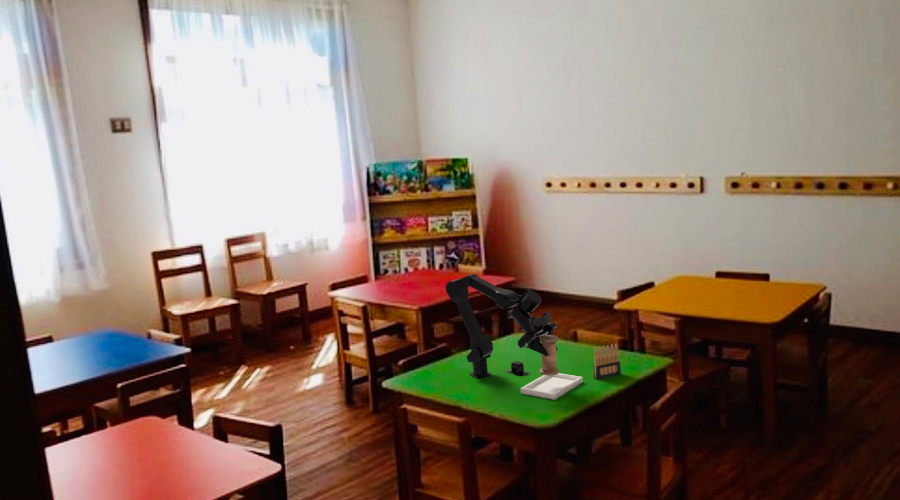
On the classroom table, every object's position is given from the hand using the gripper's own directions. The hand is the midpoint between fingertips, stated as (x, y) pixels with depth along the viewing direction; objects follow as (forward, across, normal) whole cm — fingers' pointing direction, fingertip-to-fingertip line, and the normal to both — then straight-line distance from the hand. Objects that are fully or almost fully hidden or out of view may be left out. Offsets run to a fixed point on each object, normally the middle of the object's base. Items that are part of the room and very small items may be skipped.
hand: (552, 353), depth 257 cm
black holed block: (-6, +9, +26) cm, 28 cm away
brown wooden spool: (+4, 0, +6) cm, 8 cm away
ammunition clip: (+17, +21, +2) cm, 27 cm away
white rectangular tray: (+9, +1, +10) cm, 14 cm away
